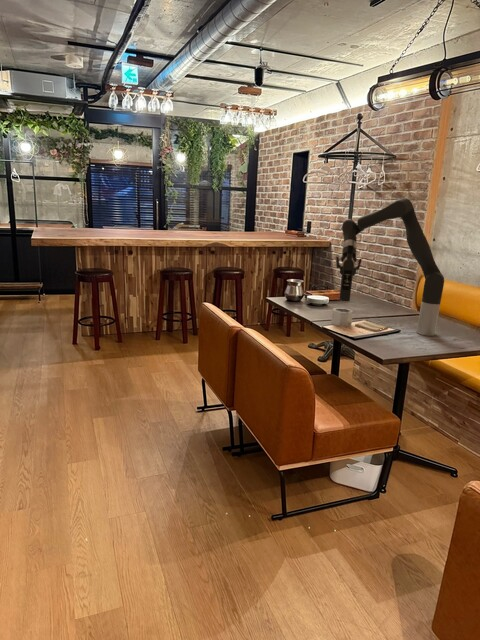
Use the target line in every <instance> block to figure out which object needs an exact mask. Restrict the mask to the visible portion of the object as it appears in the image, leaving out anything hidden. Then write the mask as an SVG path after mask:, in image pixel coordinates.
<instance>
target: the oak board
mask: <svg viewBox="0 0 480 640" xmlns="http://www.w3.org/2000/svg"><path fill="white" fill-rule="evenodd" d="M356 326H358V327H357V328H360V327H363V328H362V329H364V328H367V329H371V330H375V331H377V330H380V329H383V328H387V329H388V328H389V326H388V325H384V324H380V323H375V322H371V321H362V322H358V323H355V324H354V327H356ZM367 329H366V330H367ZM371 330H370V331H371ZM375 331H374V332H375ZM380 331H381V330H380ZM377 332H378V331H377Z"/></svg>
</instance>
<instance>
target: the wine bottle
mask: <svg viewBox="0 0 480 640" xmlns="http://www.w3.org/2000/svg"><path fill="white" fill-rule="evenodd" d="M353 247H354V246H353V245H348V252H347V259H346V260H345V261H344V263H343V272H342V275H341V280H340V287H339V297H338V300H339V301H340V302H351V301H350V300H351V294H352V293H351V292H352V284H353V277H354V276H353V270H354V261H353V260H352V254H353Z"/></svg>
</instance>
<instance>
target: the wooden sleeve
mask: <svg viewBox="0 0 480 640" xmlns="http://www.w3.org/2000/svg"><path fill="white" fill-rule="evenodd" d="M353 314H354V311H353V310H352V309H349V308H346V307H345V308H344V307H334V308H332V315H331V324H332V326H336V327H340V326H349V327H351V326H352V323H353V322H352V321H353Z"/></svg>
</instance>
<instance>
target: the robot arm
mask: <svg viewBox="0 0 480 640" xmlns="http://www.w3.org/2000/svg"><path fill="white" fill-rule="evenodd" d="M397 218H398V219H399V218H401V220H402V223H403V224H404V228H405V234H406V235H405V236H406V242H407V245H408V248H409V250H410V252H411V254H412V256H413V258H414V259H415V261H416V262H417V263H418V265H419V267H420V268H421V271H422V273H423V276H424V279H425V280H424V284H423V289H422V290H423V291H422V298H421V303H420V309H419V310H420V311H419V314H418V322H417V326H416V333H417V334H418V335H422V336H427V337H428V336H429V337H433V336H435V335H436V329H437V323H438V318H439V314H440V313H439V312H440V307H441V302H442V297H443V291H444V286H445V277H444V275H443V273H442V272H441V270H440V268H439V267H438V266H437V263H436V262H435V261H436V260H435V258H434V255H433V253H432V249H431V246H430V244H429V241H428V239H427V237H426V235H425V233H424V231H423V228H422V227H421V224H420V223H419V220H418V217H417V214H416V210H415V207H414V205H413V203H412V201H411V200H410V199H408V198H406V197H403V198H399V199H395V200H394V201H393V202H391V203H390V204H389V205H386V206H385V207H382V208H381V209H379V210H375V211H373V212H370V213H368V214H365V215H363V216H360V217H359V218H358V219H357V222H355V221H354V220H353V219H351V218H347V219H345V220H344V221H343V222H342V225H341V230H342V236H343V244H342V250H341V251H342V252H341V253H342V254H341V257H339V256H336V258H335V263H336V269H339V274H340V275H341V276H342V272H343V263H344V261H345V260H346V259H347V252H348V245H353V246H354V247H353V254H352V260H353V261H354V270H353V277H354V276H355V275H356V274H357V271H360V268H361V264H362V258H357V238H358V237H357V236H358V235H359V234H361V233H362V232H363V231H364V230H366V229H369V228H371V227H373V226H374V227H375V226H376V225H378V224H381V223H382V222H384V221H385V222H386V221H387V220H392V219H397ZM340 262H342V263H341V264H340ZM356 263H357V265H356Z"/></svg>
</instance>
